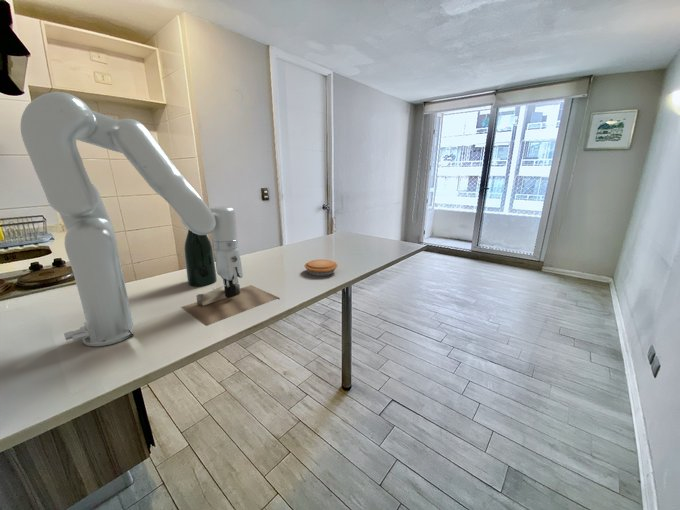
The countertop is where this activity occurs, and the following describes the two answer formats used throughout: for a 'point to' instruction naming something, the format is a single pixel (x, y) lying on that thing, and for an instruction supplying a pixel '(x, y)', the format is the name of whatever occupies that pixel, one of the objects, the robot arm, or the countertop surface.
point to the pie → (321, 267)
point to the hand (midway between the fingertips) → (230, 296)
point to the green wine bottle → (199, 260)
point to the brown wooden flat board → (229, 305)
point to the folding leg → (214, 295)
